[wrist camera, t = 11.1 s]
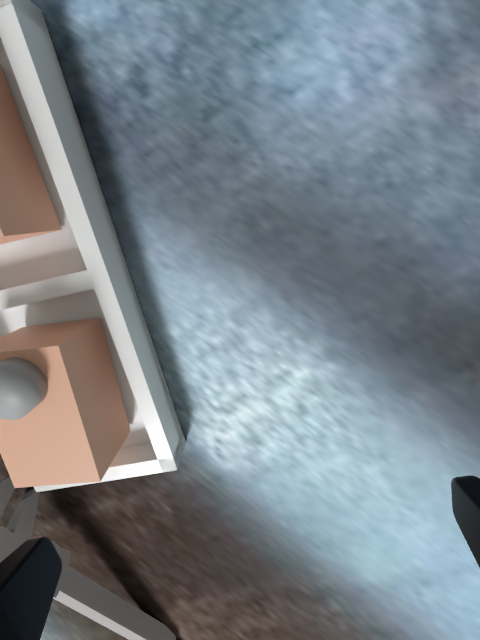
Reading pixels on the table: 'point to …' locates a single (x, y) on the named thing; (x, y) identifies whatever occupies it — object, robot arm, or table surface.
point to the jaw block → (20, 178)
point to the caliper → (77, 578)
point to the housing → (79, 251)
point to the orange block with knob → (59, 404)
